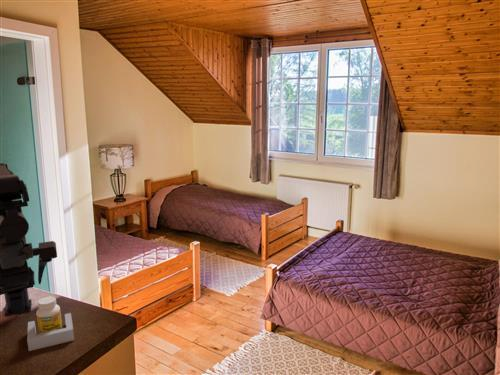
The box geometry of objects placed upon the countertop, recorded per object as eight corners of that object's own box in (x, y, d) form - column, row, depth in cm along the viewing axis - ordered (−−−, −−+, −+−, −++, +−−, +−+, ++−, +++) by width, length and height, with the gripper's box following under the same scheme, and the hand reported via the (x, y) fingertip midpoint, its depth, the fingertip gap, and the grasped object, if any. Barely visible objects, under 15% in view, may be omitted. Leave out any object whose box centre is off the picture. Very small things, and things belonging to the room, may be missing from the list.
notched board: (29, 332, 106) (28, 322, 106) (72, 323, 111) (70, 312, 110) (28, 351, 99) (27, 339, 98) (74, 340, 103) (73, 329, 102)
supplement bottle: (60, 326, 109) (57, 292, 107) (64, 336, 105) (60, 301, 102) (37, 333, 106) (33, 298, 104) (41, 343, 102) (36, 307, 100)
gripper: (-42, 245, 90) (-30, 311, 93) (54, 232, 98) (61, 293, 101) (-34, 229, 100) (-24, 290, 103) (52, 219, 108) (59, 275, 111)
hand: (19, 287), depth 105 cm, fingers open, 9 cm apart
